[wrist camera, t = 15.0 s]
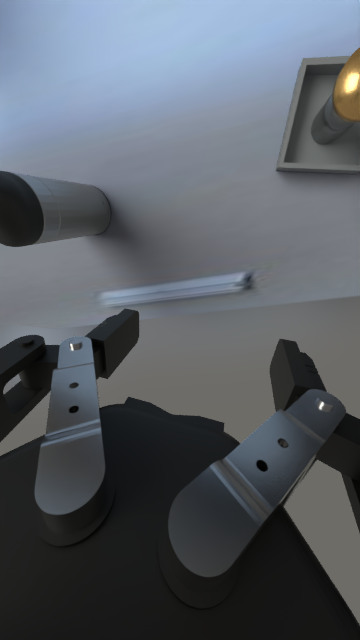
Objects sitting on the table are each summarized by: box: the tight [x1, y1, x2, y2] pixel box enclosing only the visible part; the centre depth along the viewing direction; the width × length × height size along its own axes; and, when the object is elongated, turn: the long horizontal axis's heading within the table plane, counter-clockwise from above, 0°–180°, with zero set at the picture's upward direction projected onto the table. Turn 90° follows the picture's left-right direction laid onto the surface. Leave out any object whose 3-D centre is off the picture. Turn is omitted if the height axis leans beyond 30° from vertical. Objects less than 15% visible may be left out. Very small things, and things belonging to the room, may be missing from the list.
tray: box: [276, 56, 360, 174], centre depth 30 cm, size 11×11×3 cm
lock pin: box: [311, 48, 360, 144], centre depth 26 cm, size 6×6×12 cm
